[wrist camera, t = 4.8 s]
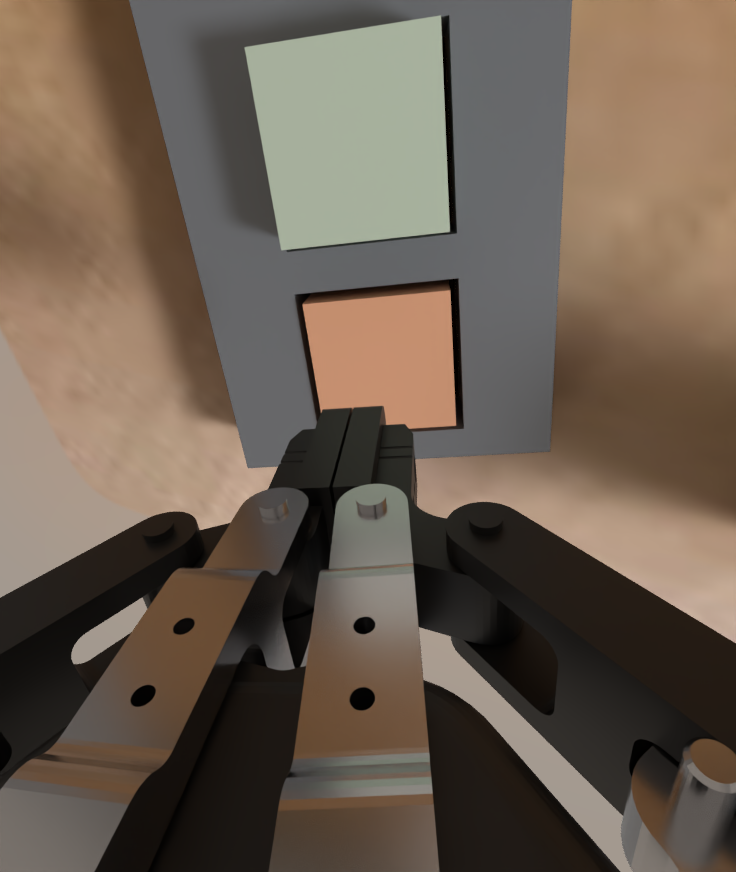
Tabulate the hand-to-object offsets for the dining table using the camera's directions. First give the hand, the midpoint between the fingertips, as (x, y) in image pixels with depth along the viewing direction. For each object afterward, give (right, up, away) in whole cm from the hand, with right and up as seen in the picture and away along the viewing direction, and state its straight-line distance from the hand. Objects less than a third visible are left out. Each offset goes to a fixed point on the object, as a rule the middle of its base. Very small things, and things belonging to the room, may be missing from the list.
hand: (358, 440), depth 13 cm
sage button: (0, +10, +4) cm, 10 cm away
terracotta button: (+1, +4, +8) cm, 9 cm away
